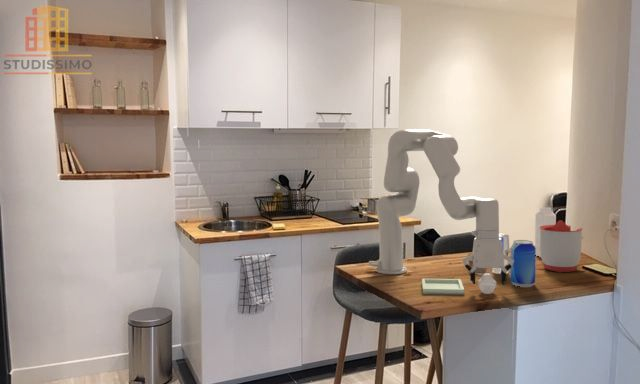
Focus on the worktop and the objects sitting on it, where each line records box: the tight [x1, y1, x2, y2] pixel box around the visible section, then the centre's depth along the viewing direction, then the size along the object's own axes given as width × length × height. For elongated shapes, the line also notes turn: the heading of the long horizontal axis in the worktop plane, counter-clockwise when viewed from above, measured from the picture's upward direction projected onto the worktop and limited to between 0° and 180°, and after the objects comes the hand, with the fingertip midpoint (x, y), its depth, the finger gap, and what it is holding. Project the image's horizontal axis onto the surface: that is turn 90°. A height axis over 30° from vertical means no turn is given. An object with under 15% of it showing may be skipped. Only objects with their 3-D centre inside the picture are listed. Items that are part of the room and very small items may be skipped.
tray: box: [421, 278, 465, 296], centre depth 193 cm, size 14×14×2 cm
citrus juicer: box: [540, 219, 584, 273], centre depth 215 cm, size 16×17×20 cm
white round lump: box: [477, 272, 497, 295], centre depth 186 cm, size 6×6×7 cm
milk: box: [534, 206, 557, 258], centre depth 238 cm, size 6×6×22 cm
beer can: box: [510, 239, 536, 288], centre depth 194 cm, size 8×8×16 cm
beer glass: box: [491, 233, 511, 275], centre depth 213 cm, size 7×7×15 cm
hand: (488, 283), depth 186 cm, fingers open, 9 cm apart
